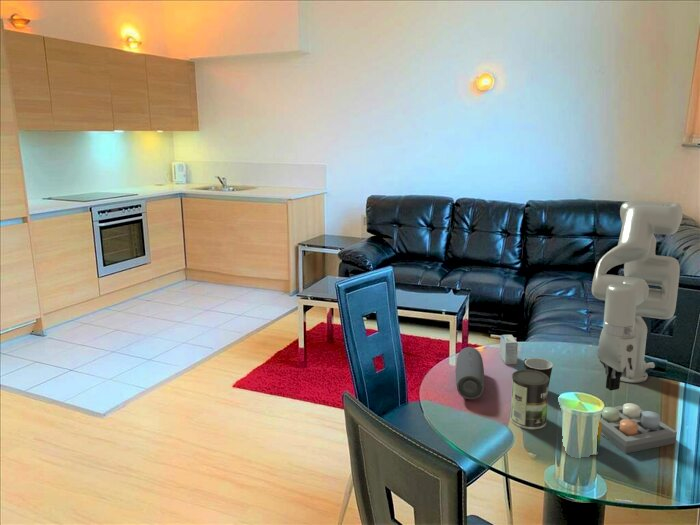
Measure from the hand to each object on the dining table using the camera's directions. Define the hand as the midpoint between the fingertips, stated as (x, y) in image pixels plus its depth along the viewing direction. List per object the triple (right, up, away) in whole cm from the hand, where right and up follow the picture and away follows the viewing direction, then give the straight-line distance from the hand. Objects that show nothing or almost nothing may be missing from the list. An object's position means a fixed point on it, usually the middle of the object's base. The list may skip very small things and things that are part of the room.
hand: (612, 388), depth 153 cm
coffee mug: (-13, -6, +25) cm, 29 cm away
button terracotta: (+2, -11, -5) cm, 13 cm away
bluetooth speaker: (-34, -6, +29) cm, 45 cm away
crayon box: (-10, -15, -7) cm, 19 cm away
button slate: (+8, -9, -4) cm, 13 cm away
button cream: (+7, -9, +3) cm, 11 cm away
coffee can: (-22, -11, +7) cm, 25 cm away
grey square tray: (+4, -12, -1) cm, 13 cm away
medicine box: (-16, -1, +48) cm, 50 cm away
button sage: (0, -10, +1) cm, 10 cm away
